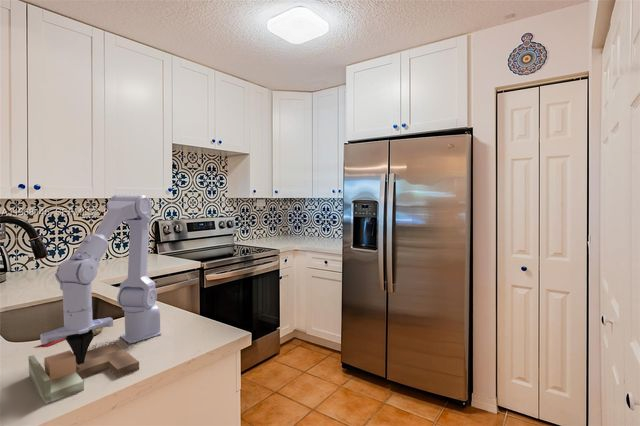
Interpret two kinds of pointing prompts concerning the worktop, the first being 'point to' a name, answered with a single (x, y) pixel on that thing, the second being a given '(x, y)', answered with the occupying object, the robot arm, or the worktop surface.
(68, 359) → the block
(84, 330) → the robot arm
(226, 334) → the worktop surface
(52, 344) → the cayenne pepper
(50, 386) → the blocky structure
